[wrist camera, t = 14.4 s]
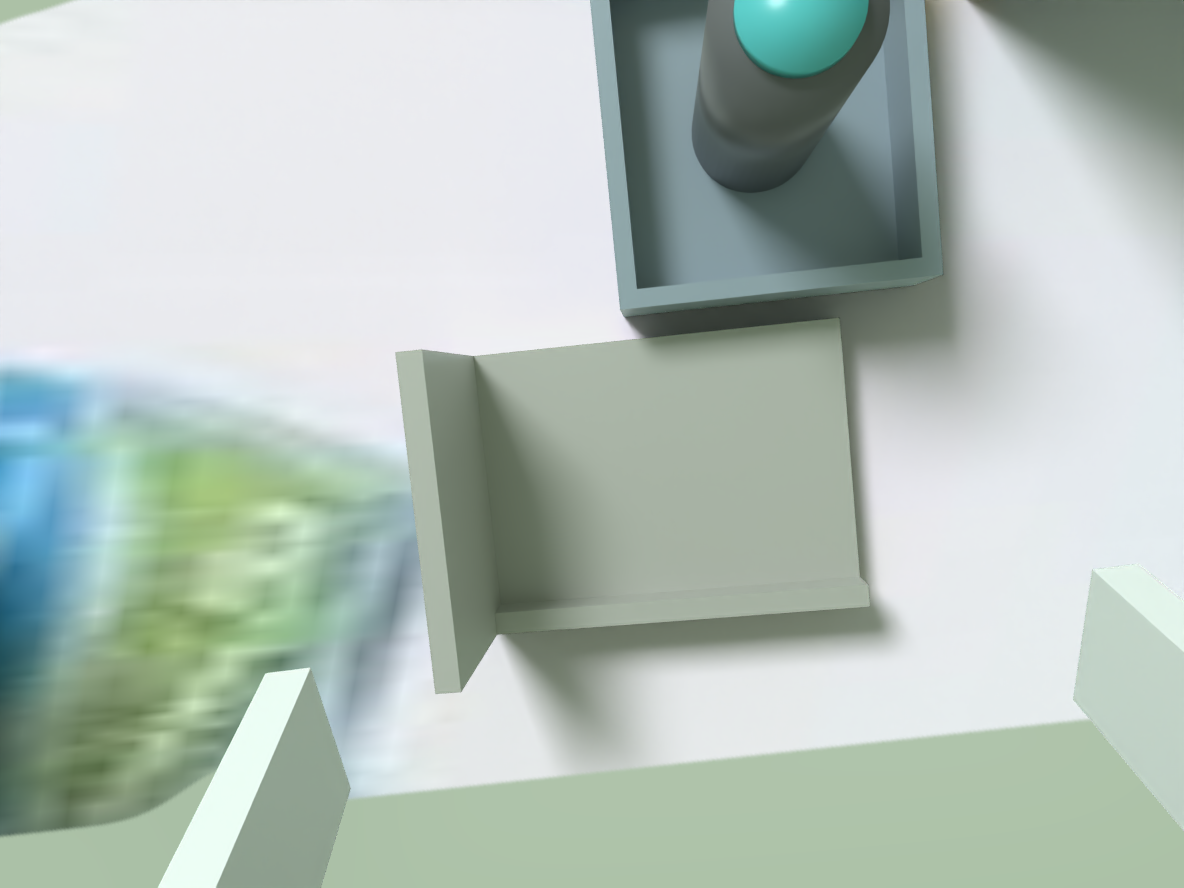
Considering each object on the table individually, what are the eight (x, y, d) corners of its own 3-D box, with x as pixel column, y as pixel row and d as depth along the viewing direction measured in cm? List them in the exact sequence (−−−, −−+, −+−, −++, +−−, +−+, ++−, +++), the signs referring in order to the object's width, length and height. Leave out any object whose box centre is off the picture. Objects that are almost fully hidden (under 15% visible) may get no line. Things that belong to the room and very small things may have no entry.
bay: (489, 617, 41) (435, 694, 31) (460, 359, 40) (395, 352, 30) (853, 589, 39) (920, 660, 29) (832, 320, 38) (894, 299, 28)
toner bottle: (697, 199, 38) (716, 109, 25) (686, 76, 37) (700, -79, 25) (819, 185, 37) (902, 85, 25) (809, 59, 37) (888, -107, 24)
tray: (623, 316, 39) (620, 309, 35) (591, -18, 38) (583, -64, 34) (912, 285, 38) (943, 274, 34) (888, -61, 37) (916, -114, 33)
